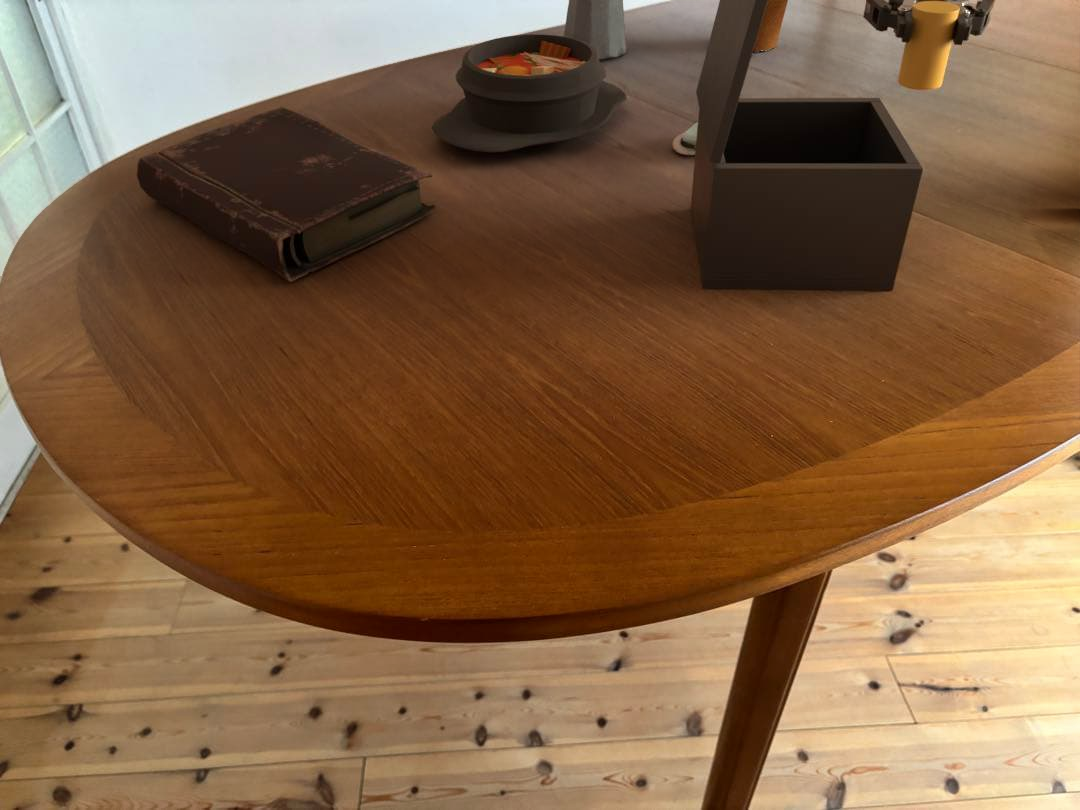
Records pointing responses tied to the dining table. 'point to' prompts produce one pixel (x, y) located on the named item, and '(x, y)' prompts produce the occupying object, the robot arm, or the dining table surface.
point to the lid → (727, 68)
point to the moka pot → (597, 25)
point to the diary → (285, 190)
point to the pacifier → (687, 137)
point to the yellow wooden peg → (928, 45)
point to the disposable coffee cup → (770, 25)
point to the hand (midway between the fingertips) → (934, 33)
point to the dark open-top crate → (804, 197)
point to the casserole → (528, 94)
